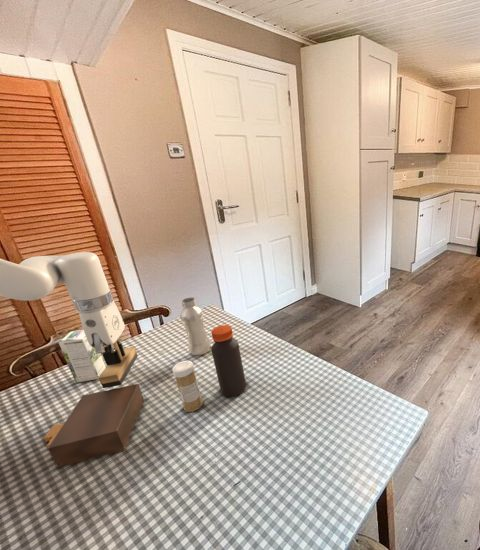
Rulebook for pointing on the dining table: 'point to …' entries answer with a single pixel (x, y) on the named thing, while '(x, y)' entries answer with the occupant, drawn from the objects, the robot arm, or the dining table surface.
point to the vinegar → (228, 361)
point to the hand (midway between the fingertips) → (116, 359)
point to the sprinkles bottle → (187, 385)
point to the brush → (118, 368)
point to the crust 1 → (53, 431)
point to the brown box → (98, 425)
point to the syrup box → (81, 357)
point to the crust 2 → (52, 439)
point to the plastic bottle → (194, 327)
